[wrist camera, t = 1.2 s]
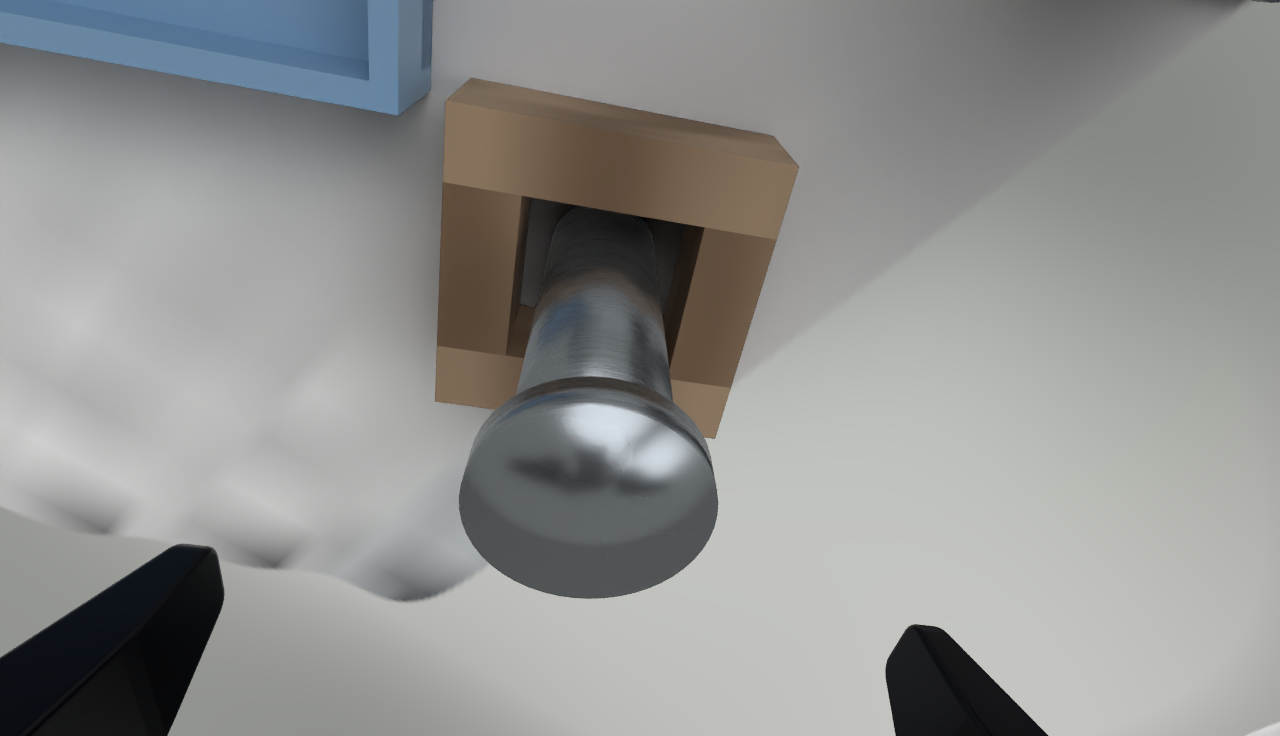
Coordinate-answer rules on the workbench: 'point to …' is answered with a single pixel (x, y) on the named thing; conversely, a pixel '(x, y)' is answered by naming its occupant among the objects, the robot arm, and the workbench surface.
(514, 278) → the hole block
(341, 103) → the tray
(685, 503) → the pin
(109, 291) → the workbench surface
